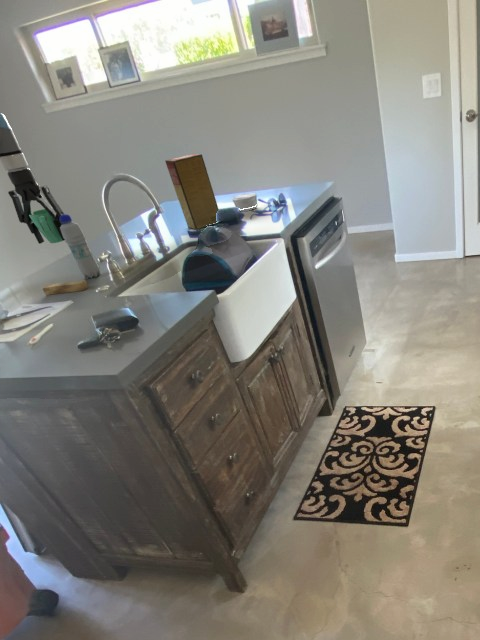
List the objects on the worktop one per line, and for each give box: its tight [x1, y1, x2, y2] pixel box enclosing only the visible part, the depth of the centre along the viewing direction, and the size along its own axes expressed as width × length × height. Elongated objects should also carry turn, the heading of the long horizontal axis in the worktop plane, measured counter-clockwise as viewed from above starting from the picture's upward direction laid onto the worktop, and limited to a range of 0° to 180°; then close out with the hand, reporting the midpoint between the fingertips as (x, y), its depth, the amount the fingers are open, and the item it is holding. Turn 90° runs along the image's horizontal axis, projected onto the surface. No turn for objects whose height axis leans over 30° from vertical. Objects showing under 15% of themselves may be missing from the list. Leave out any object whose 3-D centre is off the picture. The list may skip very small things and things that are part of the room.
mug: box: [29, 208, 63, 244], centre depth 189 cm, size 15×10×10 cm
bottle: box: [60, 213, 101, 279], centre depth 179 cm, size 7×7×20 cm
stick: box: [42, 279, 89, 296], centre depth 175 cm, size 14×3×2 cm, turn 89°
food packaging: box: [164, 153, 220, 231], centre depth 218 cm, size 13×9×25 cm
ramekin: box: [231, 192, 258, 212], centre depth 238 cm, size 11×11×5 cm
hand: (53, 241), depth 192 cm, fingers closed on mug, 9 cm apart
